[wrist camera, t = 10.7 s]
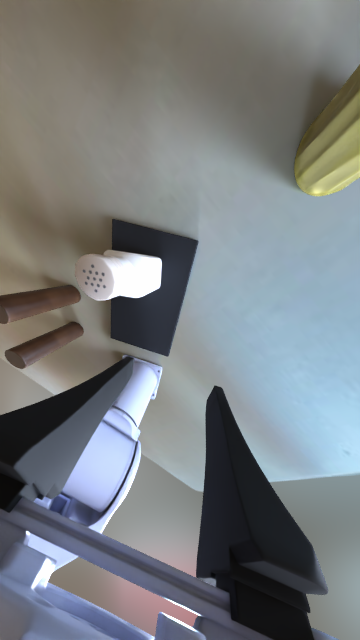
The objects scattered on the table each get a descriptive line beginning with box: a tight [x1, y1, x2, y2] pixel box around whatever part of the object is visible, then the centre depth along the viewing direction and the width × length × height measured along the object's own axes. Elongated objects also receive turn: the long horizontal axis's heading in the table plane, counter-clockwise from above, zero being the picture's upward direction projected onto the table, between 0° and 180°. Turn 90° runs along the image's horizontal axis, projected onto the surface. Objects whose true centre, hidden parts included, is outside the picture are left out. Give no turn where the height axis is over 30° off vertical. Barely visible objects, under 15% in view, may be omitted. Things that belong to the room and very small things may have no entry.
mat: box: [111, 219, 198, 357], centre depth 20 cm, size 18×11×1 cm, turn 166°
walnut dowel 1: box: [0, 285, 81, 324], centre depth 18 cm, size 3×3×9 cm
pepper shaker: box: [75, 250, 162, 301], centre depth 14 cm, size 4×4×10 cm
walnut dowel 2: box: [5, 322, 84, 369], centre depth 21 cm, size 3×3×9 cm
